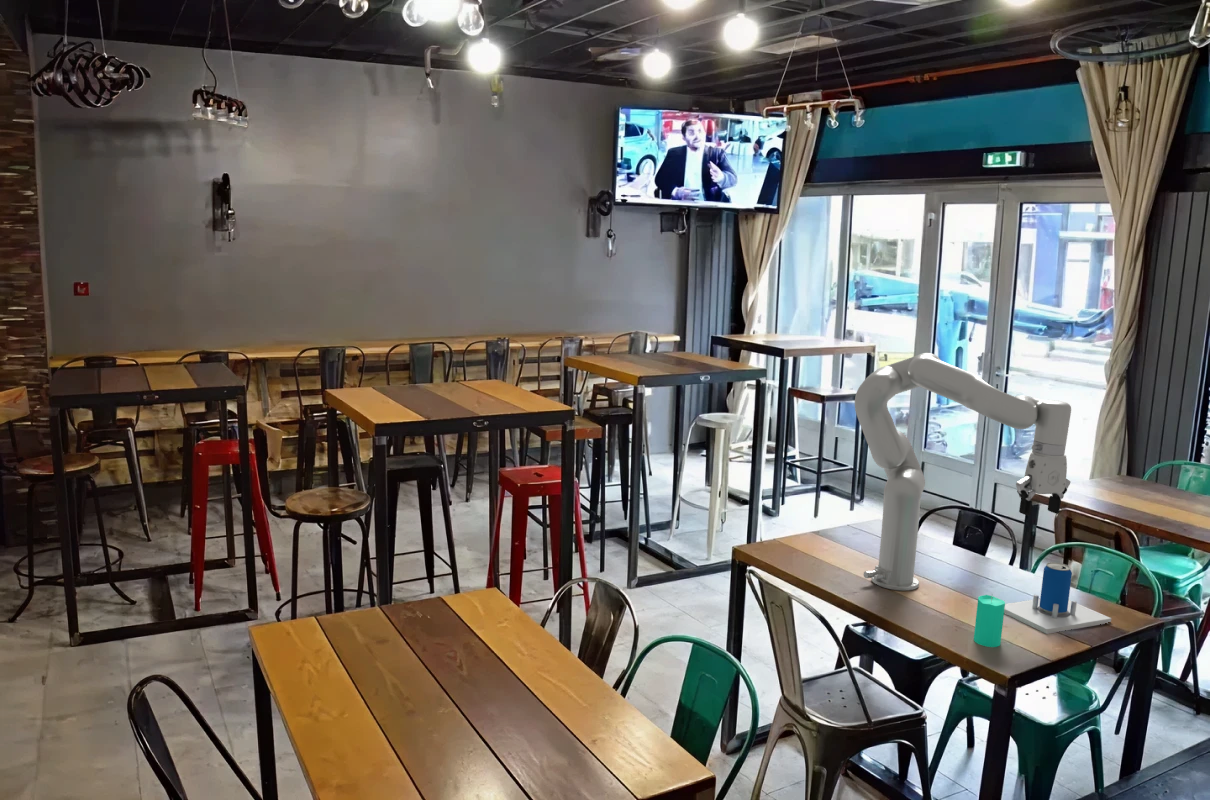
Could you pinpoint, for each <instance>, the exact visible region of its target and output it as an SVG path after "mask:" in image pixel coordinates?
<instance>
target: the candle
mask: <svg viewBox="0 0 1210 800" xmlns="http://www.w3.org/2000/svg"><path fill="white" fill-rule="evenodd" d="M1005 604H1006V602H1005V600H1003V599H1000V598H998V597H997V596H993V593H991V595H989V594H983V595H979V596H978V597H977V603H976V614H975V625H974V633H973V641H974V642H975V644H976V645H981V646H983V647H988V648H998V647H1000V646H1001V643H1002V635H1003V634H1002V633H1003V626H1004V625H1003V624H1004V617H1005V613H1004V609H1005Z"/></svg>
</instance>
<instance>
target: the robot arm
mask: <svg viewBox="0 0 1210 800" xmlns="http://www.w3.org/2000/svg"><path fill="white" fill-rule="evenodd" d="M919 387H920V388H922V389H924V390H927V391H929V392H931V393H934V394H937V395H939V396H941V397H942V398H943V397H944V398H946V399H948V400H950V401H953V402H955V403H958V404H959V405H962V406H964V407H966V408H967V409H970V410H972V411H974V412H976V413H979V415H982V416H983V417H987V418H988V419H990V420H992V421H995V422H998V423H1000V424H1003V425H1005V426H1008V427H1010V428H1013V429H1016V430H1017V429H1018V430H1026V429H1028V428H1031V427H1032V426H1033V425H1035V430H1034V437H1033V442H1032V445H1031V452H1030V455H1029V456H1028V461H1027V464H1026V468H1025V473H1024V477H1023V478H1021V479H1020V480H1018V481H1017V482H1015V487H1016V492H1017V494H1018V496H1019V498H1020V502H1019V503H1020V504H1019V510H1018V513H1020V514H1022V515H1025V516H1026V517H1027V516H1031V513H1032V506H1033V500H1032V498H1034V496H1035V495H1036V494H1037V495H1049V498H1048V504H1047V511H1048V512H1051V513H1053V514H1055V515H1057V514H1059V513H1060V510H1061V501H1062V499H1064V496H1065V494H1066V493H1067V492H1068V488H1069V487H1070V485H1071V481H1070V480H1069V479H1067V469H1068V463H1067V462H1068V461H1067V455H1066V454H1065V453H1066V446H1067V441H1068V440H1067V439H1068V434H1069V427H1070V423H1071V421H1070V420H1071V415H1072V414H1071V413H1072V405H1070V404H1069V403H1068V402H1065V401H1060V400H1053V399H1041V398H1038V397H1037V398H1036V397H1033V396H1028V395H1023V394H1021V395H1016V396H1014V395H1012V394H1009V393H1006V392H1004V391H1002V390H1000V389H998V388H996V387H994V386H992V385H990V384H989V383H987V382H986V381H985V380H983V378H981V376H978V375H977V374H975V373H973V372H971V371H967V370H965V369H963V368H960V367H957V366H955V365H952V364H950V363H948V362H945V361H943V360H941V359H940V357H938V356H937V355H936V354H934V353H930V352H923V353H920V354H917V355H915V356H911V357H909V358H906V359H902V360H900V361H897V362H894V363H891V364H888V365H884V366H881V367H879V368H877V369H876V370H874V371H873V372H871V373H870V374H869V375H868V376H867V377H866V378H865V379H864V380H863V381H862V383H861V384H860V385H859V387H858V389H857V391H856V393H855V397H854V410H855V414H856V417H857V419H858V422H859V425H860V427H861V430H862V433H863V435H864V438H865V441H866V443H867V446H868V449H869V451H870V454H871V456H872V459H873V461H874V462H875V464H876V465H877V466H879V468H882V469H883V470H884V472H885V474H886V476H887V480H886V483H885V485H884V488H883V499H882V501H883V505H882V507H883V508H882V520H881V521H882V522H881V533H880V543H879V545H880V546H879V555H878V556H879V557H878V565H877V564H876V565H875V567H874V569H872V570H865V571H864V572H863V577H864V578H865V579H871V582H873V584H874V585H876V584H877V585H876V586H878V587H882V588H884V589H888V590H892V591H894V590H895V591H903V592H904V591H905V592H906V591H913V590H915V589H917V588H919V586H920V581H919V580H918V579H917V577H914V575H915V565H916V556H917V544H918V537H919V536H918V533H919V522H920V509H921V507H920V506H921V499H922V494H923V492H924V489H925V485H926V479H925V476H924V473H923V470H922V468H921V466H920V463H919V460H918V457H917V455H916V453H915V450H914V449H913V446H912V443H911V442H910V440H909V438H908V437H907V436H906V435H905V433H903V432H902V431H899V430H897V427H896V425H895V423H894V422H895V421H894V419H893V417H892V414H891V413H890V411H889V408H888V402H889V401H890V400H891V399H892V398H893V397H895V396H896V395H898V394H902V393H905V392H907V391H911V390H913V389H914V390H915V389H916V388H919ZM1028 492H1029V493H1028Z"/></svg>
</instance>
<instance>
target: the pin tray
mask: <svg viewBox="0 0 1210 800" xmlns="http://www.w3.org/2000/svg"><path fill="white" fill-rule="evenodd" d="M1039 597H1040V596H1039V595H1038V594H1034V595H1033V597H1032V598H1033V599H1030V600H1029V599H1028V600H1023V601H1015V602H1009V603H1005V609H1004V615H1007V616H1009V617H1011V618H1013V619H1014V620H1017V621H1019V622H1022V623H1024V624H1025V625H1027V626H1030V627H1032V628H1034V629H1035V630H1038V631H1040V632H1042V633H1044V634H1047V635H1048V634H1053V633H1059V631H1060V632H1064V631H1065V630H1066V631H1070V630H1071V629H1072V630H1077V629H1083V628H1087V627H1094V626H1100V624H1101V625H1105V623H1107V624H1109V623H1108V622H1111V623H1112V617H1109V616H1107V615H1105V614H1102V613H1100V612H1098V611H1096V610H1093V609H1091V608H1089V607H1086V606H1084V605H1082V604H1079V603H1078V602H1077V601H1076V600H1070V599H1069V601H1068V609H1067V612H1065V613H1063V614H1060V615H1058V607H1059V605H1058V604H1053V612H1052V614H1051V613H1047V612H1045V611H1043V609H1042V608H1041V607H1040V598H1039ZM1072 630H1071V631H1072ZM1066 631H1065V632H1066Z"/></svg>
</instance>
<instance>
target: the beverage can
mask: <svg viewBox="0 0 1210 800" xmlns="http://www.w3.org/2000/svg"><path fill="white" fill-rule="evenodd" d="M1042 573H1043V574H1042V581H1041V589H1040V596H1039V597H1040V598H1039V599H1040V607H1041V608H1042V609H1043V611H1045V612H1047V613H1051V614H1052V612H1053V604H1058V605H1059V607H1058V615H1060V614H1063V613H1065V612H1067V609H1068V601H1069V600H1070V591H1071V584H1072V575H1073V572H1072V570H1071V566H1070V565H1068V564H1065V563H1063V562H1062V563H1061V562H1056V561H1055V562H1053V561H1051V562H1050V561H1049V562H1047V563H1046V564H1045V566H1044V567H1043V572H1042Z"/></svg>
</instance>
